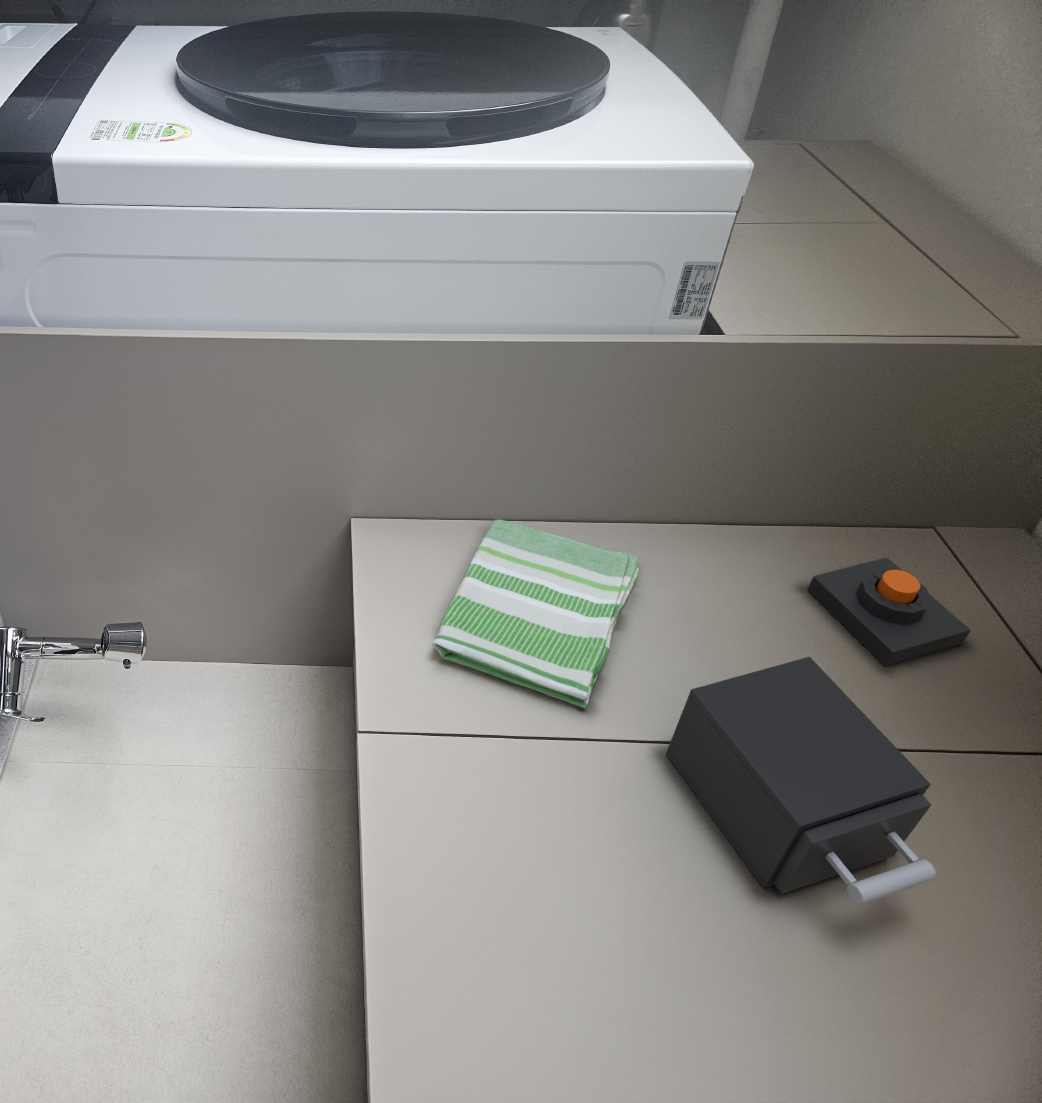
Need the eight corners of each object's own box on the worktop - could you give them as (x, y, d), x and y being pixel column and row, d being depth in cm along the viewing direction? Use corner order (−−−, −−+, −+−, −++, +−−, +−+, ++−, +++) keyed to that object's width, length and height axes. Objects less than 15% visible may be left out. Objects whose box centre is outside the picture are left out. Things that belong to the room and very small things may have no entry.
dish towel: (639, 570, 111) (644, 552, 109) (591, 714, 95) (596, 697, 93) (491, 527, 117) (493, 510, 115) (422, 657, 101) (424, 639, 99)
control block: (962, 644, 101) (979, 617, 99) (884, 666, 99) (899, 640, 97) (879, 571, 110) (893, 545, 107) (806, 590, 108) (819, 564, 105)
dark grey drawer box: (885, 847, 84) (931, 784, 77) (762, 888, 81) (800, 826, 75) (776, 721, 94) (809, 656, 88) (665, 754, 91) (690, 689, 85)
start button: (921, 600, 101) (928, 588, 100) (893, 607, 101) (900, 596, 99) (896, 578, 104) (902, 566, 103) (869, 585, 103) (875, 573, 102)
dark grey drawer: (932, 900, 79) (974, 850, 74) (816, 941, 77) (852, 892, 71) (790, 735, 92) (817, 682, 87) (687, 765, 89) (709, 713, 84)
